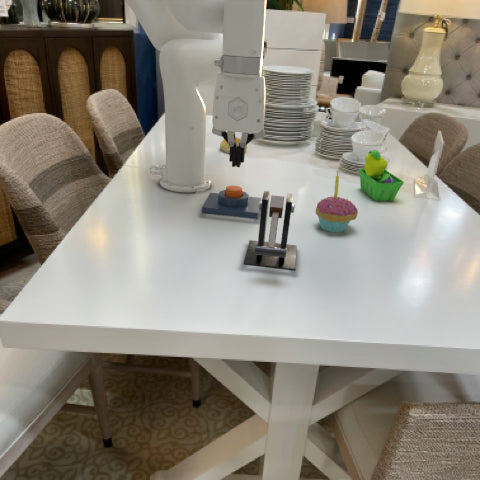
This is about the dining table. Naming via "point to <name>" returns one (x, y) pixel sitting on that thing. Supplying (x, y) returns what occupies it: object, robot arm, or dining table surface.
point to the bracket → (272, 261)
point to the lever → (273, 230)
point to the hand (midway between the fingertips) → (236, 165)
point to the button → (233, 191)
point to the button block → (232, 205)
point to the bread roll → (226, 147)
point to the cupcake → (335, 211)
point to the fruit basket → (378, 178)
